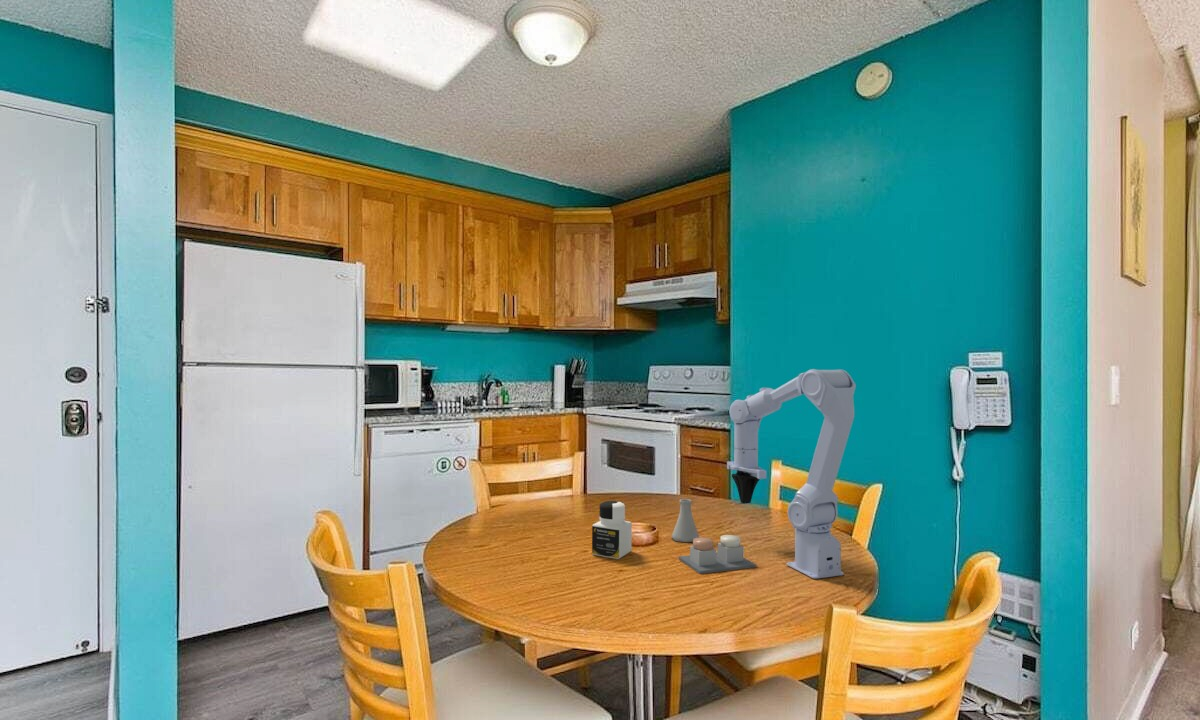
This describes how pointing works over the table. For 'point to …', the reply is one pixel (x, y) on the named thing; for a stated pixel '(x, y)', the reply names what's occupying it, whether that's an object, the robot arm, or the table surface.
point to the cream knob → (730, 541)
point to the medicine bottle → (611, 531)
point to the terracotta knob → (703, 543)
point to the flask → (685, 523)
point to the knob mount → (716, 559)
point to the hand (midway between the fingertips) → (745, 502)
